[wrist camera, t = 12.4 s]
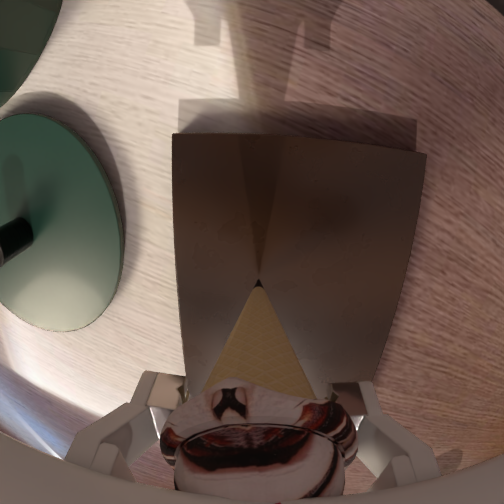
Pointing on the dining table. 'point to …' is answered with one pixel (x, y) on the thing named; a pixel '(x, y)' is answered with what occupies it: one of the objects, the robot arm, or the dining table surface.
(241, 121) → the dining table surface
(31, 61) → the pot
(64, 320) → the lid
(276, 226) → the board
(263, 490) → the ice cream cone
